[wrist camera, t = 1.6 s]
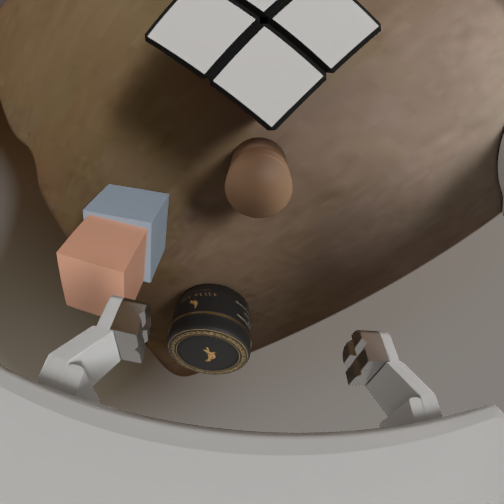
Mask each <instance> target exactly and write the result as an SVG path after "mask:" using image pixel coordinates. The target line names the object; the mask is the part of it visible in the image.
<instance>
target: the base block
mask: <svg viewBox="0 0 504 504" xmlns="http://www.w3.org/2000/svg"><path fill="white" fill-rule="evenodd" d="M168 202H169V194H166V193H160V192H154V191H148V190H142V189H136V188H130V187H124V186H118V185H111V184H109V185H108V186H106V187H105V188H104V189H103V190H102V191H101V192H100V193H99V194H98V195H97V196H96V197H95V198H94V199H93V200H92V201H91V202H90V203H89V204H88V205H87V206H86V207H85V208H84V209H83V218H84V219H85V218H86V217H87V216H88V215H89V214H90V215H94V216H98V217H102V218H106V219H110V220H114V221H118V222H122V223H126V224H130V225H134V226H138V227H142V228H146V229H148V234H147V246H146V259H145V275H144V282H149V283H151V281H152V278H153V276H154V273H155V271H156V269H157V266H158V264H159V262H160V259H161V257H162V255H163V252H164V250H165V241H166V226H167V214H168Z"/></svg>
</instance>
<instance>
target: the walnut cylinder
mask: <svg viewBox="0 0 504 504" xmlns="http://www.w3.org/2000/svg"><path fill="white" fill-rule="evenodd" d="M292 191H293V184H292V179H291V175H290V172H289V168H288V165H287V161H286V157H285V155H284V152H283V151H282V149H281V148H280V147H279V146H278V145H277V144H276V143H275V142H273V141H271V140H269V139H266V138H252V139H248V140H246V141H244V142H243V143H241V144H240V145H239V146H238V147H237V148H236V149H235V151H234V153H233V156H232V159H231V163H230V166H229V170H228V173H227V177H226V181H225V193H226V197H227V199H228V201H229V203H230V204H231V205H232V207H233V208H234V209H236V210H237V211H238V212H240V213H241V214H243V215H246V216H249V217H253V218H264V217H269V216H272V215H274V214H276V213H278V212H280V211H281V210H282V209H283V208H284V207H285V206H286V205H287V204H288V202H289V200H290V198H291V195H292Z"/></svg>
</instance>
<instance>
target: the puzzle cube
mask: <svg viewBox="0 0 504 504" xmlns="http://www.w3.org/2000/svg"><path fill="white" fill-rule="evenodd" d="M380 31H381V24H380V23H379V22H378V21H377V20H376V19H375V18H374V17H373V16H372V15H371V14H370V13H369V12H368V11H367V10H366V9H365V8H364V7H363V6H362V5H361V4H360V3H359V2H358V1H357V0H173V1H172V2H171V4H170V5H169V6H168V7H167V8H166V9H165V10H164V12H163V13H162V14H161V15H160V16H159V18H158V19H157V20H156V21H155V22H154V24H153V25H152V26H151V27H150V29H149V30H148V31H147V33H146V34H145V40H146V42H148V43H150V44H151V45H153V46H154V47H156V48H157V49H159V50H161V51H162V52H164V53H165V54H167V55H168V56H170V57H171V58H173V59H174V60H176V61H177V62H179V63H180V64H182V65H183V66H185V67H186V68H188V69H189V70H191V71H192V72H193V73H195V74H196V75H198V76H199V77H200V78H209V77H210V78H209V80H210V85H211V86H212V87H213V88H215V89H216V90H218V91H219V92H220V93H222V94H223V95H224V96H225V97H227V98H228V99H229V100H231V101H232V102H233V103H235V104H236V105H237V106H238V107H240V108H241V109H242V110H244V111H245V112H246V113H247V114H249V115H250V116H251V117H252V118H253V119H255V120H256V121H257V122H258V123H260V124H261V125H262V126H263V127H264V128H266V129H267V130H276V129H277V128H278V127H279V126H280V125H281V124H282V123H283V122H284V121H285V120H286V119H287V118H288V117H289V116H290V115H291V114H292V113H293V112H294V111H295V110H296V109H297V108H298V107H299V106H300V105H301V104H302V103H303V102H304V101H305V100H306V99H307V98H308V97H309V96H310V95H311V94H312V93H313V92H314V91H315V90H316V89H317V88H318V87H319V86H320V85H321V84H322V83H323V82H324V81H325V80H326V72H327V73H334V72H335V71H336V70H337V69H338V68H339V67H340V66H341V65H342V64H344V63H345V62H346V61H347V60H348V59H349V58H350V57H351V56H352V55H353V54H355V53H356V52H357V51H358V50H359V49H360V48H361V47H362V46H364V45H365V44H366V43H367V42H368V41H369V40H370V39H372V38H373V37H374V36H375V35H376V34H377V33H379V32H380Z"/></svg>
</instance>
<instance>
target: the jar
mask: <svg viewBox="0 0 504 504" xmlns="http://www.w3.org/2000/svg"><path fill="white" fill-rule="evenodd" d="M251 345H252V339H251V315H250V311H249V308H248V305H247V303H246V301H245V300H244V298H243V297H242V296H241V295H240V294H238V293H237V292H235V291H234V290H232V289H230V288H228V287H225V286H222V285H217V284H204V285H199V286H196V287H193V288H191V289H189V290H188V291H187V292H186V293H185V294H184V295H183V296H182V297H181V299H180V300H179V302H178V304H177V306H176V309H175V312H174V316H173V319H172V323H171V325H170V328H169V332H168V337H167V349H168V352H169V354H170V355H171V357H172V358H173V359H174V360H175V361H176V362H177V363H179V364H180V365H182V366H183V367H185V368H187V369H190V370H192V371H195V372H199V373H204V374H227V373H231V372H234V371H236V370H238V369H240V368H242V367H243V366H244V365H245V364H246V363H247V361H248V359H249V357H250V351H251Z"/></svg>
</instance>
